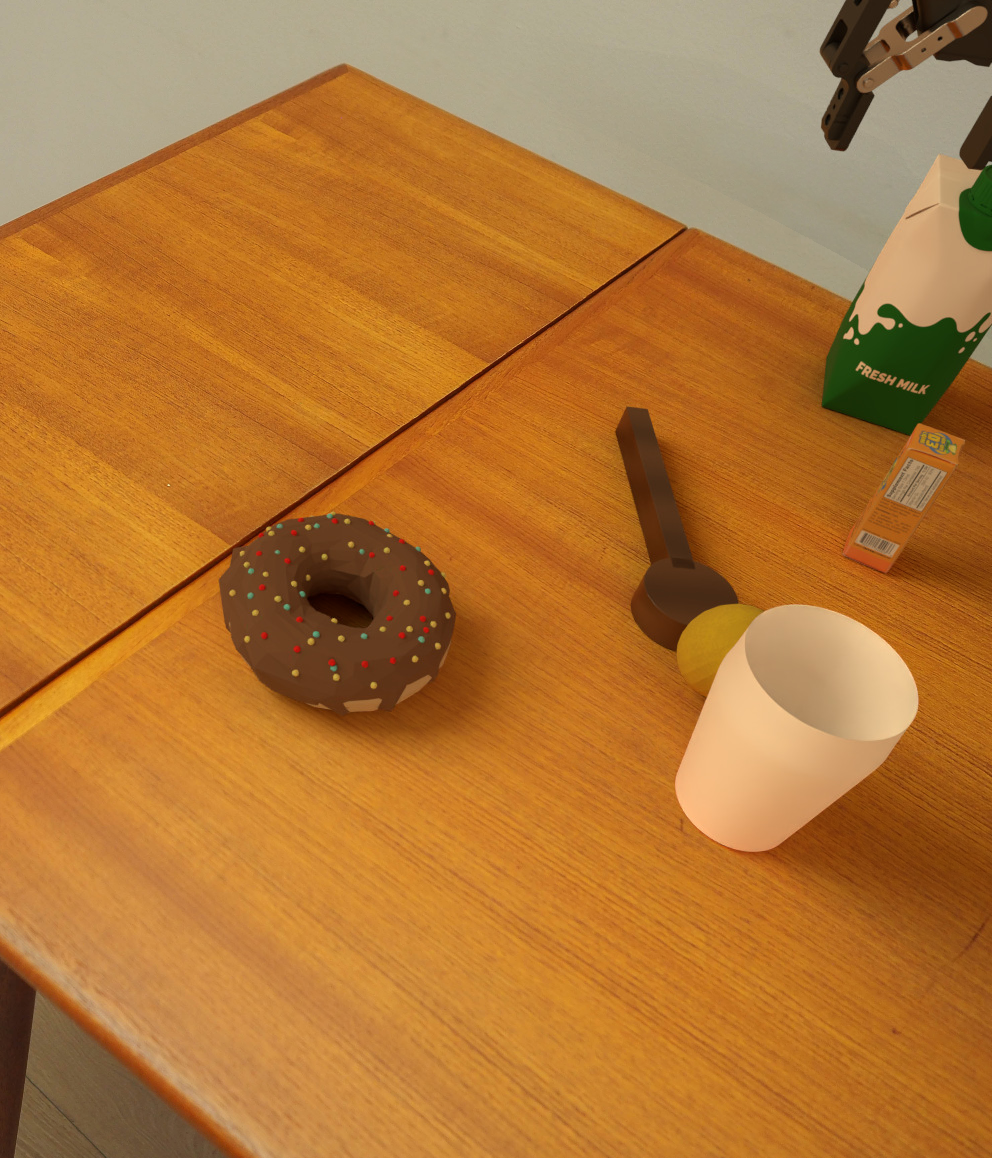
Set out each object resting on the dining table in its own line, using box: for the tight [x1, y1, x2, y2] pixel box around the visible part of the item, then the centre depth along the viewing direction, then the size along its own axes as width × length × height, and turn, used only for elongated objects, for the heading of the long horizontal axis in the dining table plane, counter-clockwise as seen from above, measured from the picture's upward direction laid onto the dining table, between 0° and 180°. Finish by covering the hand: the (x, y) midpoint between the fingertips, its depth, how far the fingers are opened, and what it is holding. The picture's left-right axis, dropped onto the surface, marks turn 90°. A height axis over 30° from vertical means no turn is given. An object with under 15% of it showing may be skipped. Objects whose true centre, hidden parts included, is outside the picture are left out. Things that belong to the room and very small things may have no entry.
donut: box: [218, 511, 457, 717], centre depth 77 cm, size 14×14×5 cm
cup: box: [674, 603, 919, 853], centre depth 70 cm, size 9×9×12 cm
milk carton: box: [821, 153, 992, 437], centre depth 96 cm, size 9×9×20 cm
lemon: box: [675, 603, 766, 698], centre depth 76 cm, size 6×6×8 cm
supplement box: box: [841, 423, 966, 574], centre depth 87 cm, size 3×3×10 cm
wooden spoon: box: [614, 406, 740, 652], centre depth 88 cm, size 21×6×2 cm, turn 178°
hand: (901, 154), depth 78 cm, fingers open, 8 cm apart
